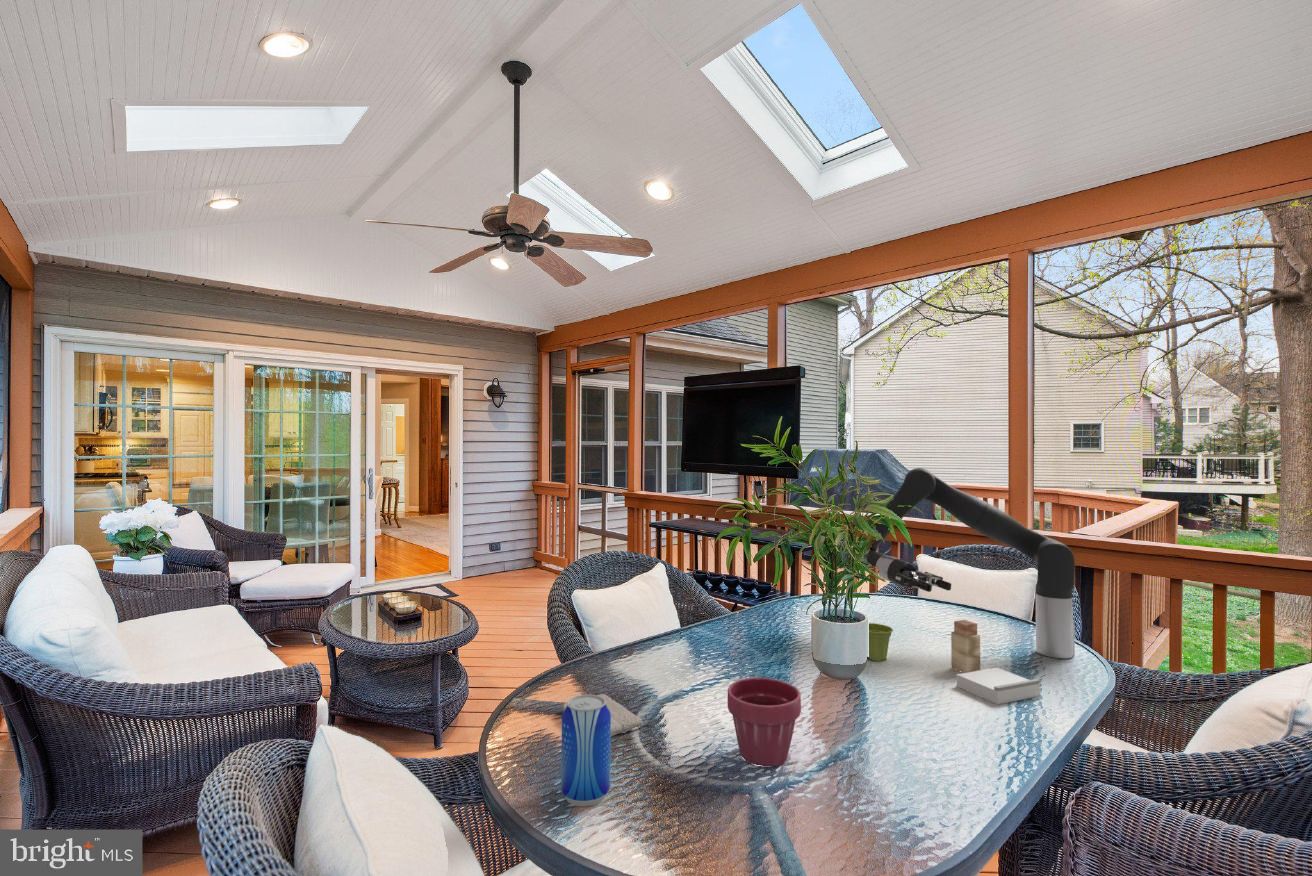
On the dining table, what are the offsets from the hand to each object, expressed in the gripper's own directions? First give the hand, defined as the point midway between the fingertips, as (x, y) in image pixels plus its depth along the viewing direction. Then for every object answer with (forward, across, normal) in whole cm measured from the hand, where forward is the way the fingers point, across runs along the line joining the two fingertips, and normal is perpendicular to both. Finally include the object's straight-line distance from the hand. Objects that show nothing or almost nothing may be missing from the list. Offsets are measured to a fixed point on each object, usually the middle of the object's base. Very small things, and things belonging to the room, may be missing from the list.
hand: (940, 587), depth 179 cm
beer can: (+19, -114, +25) cm, 119 cm away
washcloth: (-7, -100, +29) cm, 104 cm away
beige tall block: (+11, 0, +19) cm, 22 cm away
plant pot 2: (-8, -13, +23) cm, 28 cm away
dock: (+24, -6, +18) cm, 31 cm away
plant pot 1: (+23, -79, +23) cm, 85 cm away
